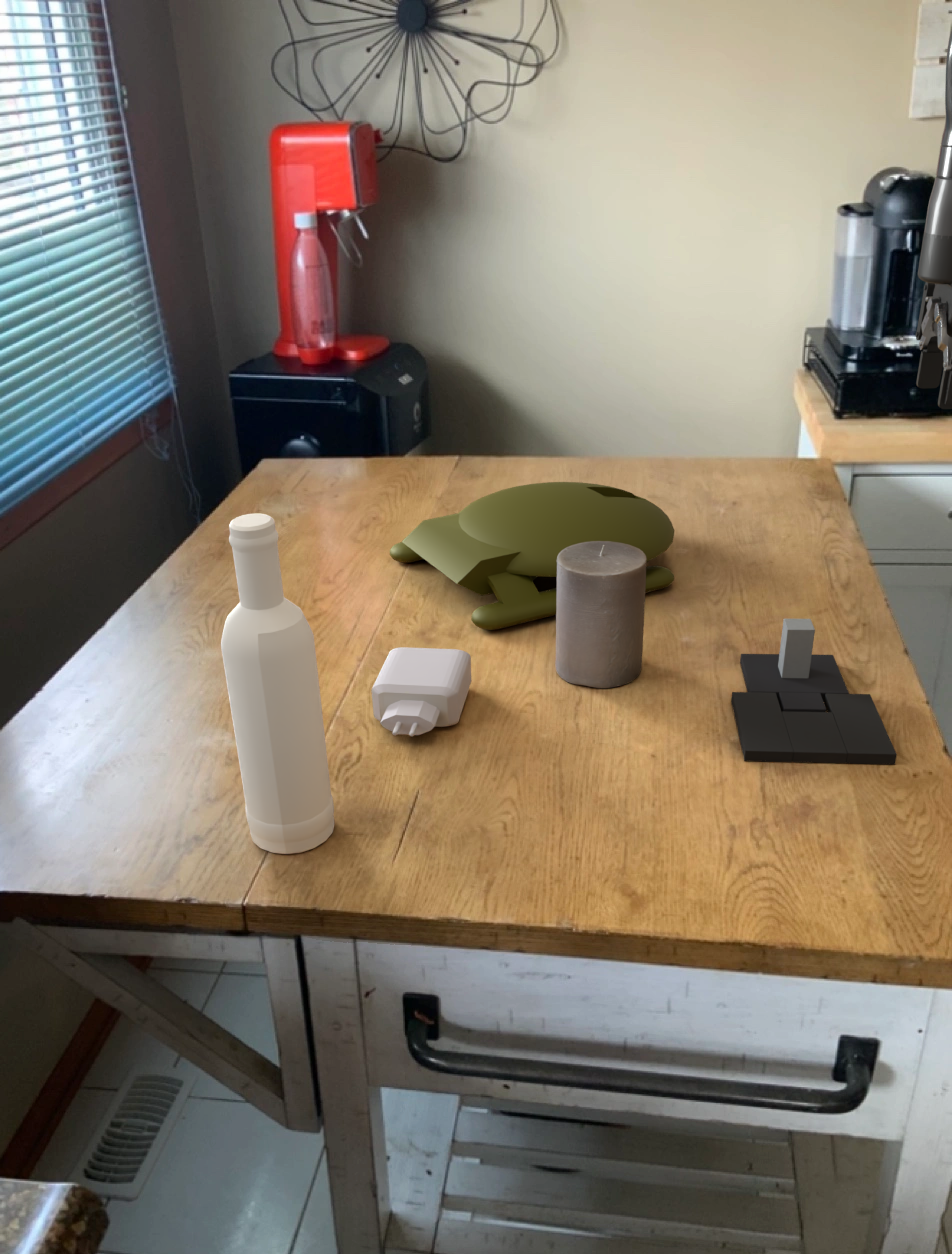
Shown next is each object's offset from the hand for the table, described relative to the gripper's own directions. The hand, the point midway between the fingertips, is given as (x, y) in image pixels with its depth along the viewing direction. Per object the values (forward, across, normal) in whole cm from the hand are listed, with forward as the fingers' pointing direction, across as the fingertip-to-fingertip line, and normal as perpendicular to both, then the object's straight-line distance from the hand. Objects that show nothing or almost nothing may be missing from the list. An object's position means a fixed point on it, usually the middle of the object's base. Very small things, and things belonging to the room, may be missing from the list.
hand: (937, 397), depth 116 cm
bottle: (+28, -41, +62) cm, 79 cm away
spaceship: (+28, +22, +41) cm, 54 cm away
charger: (+28, -20, +53) cm, 63 cm away
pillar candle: (+28, -8, +34) cm, 45 cm away
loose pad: (+28, -12, +13) cm, 33 cm away
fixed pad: (+28, -21, +13) cm, 37 cm away
